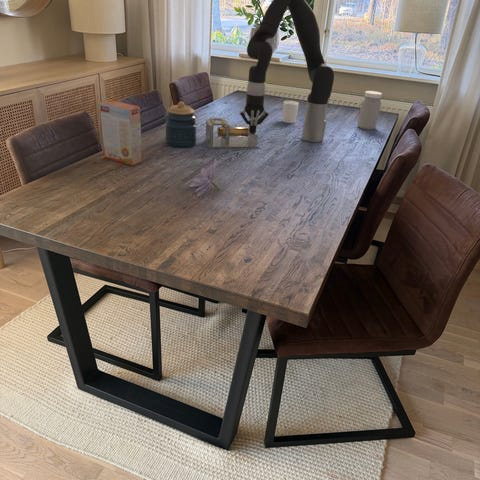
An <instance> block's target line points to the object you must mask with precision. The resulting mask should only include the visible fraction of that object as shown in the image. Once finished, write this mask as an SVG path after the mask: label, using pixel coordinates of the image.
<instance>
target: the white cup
mask: <svg viewBox="0 0 480 480" xmlns="http://www.w3.org/2000/svg"><path fill="white" fill-rule="evenodd" d="M282 105H283V107H282V122H283V123H285V124H295V123H296V120H297V115H298V110H299V105H300V103H299V102H298V101H297V100H296V101H295V100H284V101H283V104H282Z"/></svg>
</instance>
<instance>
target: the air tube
mask: <svg viewBox="0 0 480 480" xmlns="http://www.w3.org/2000/svg"><path fill="white" fill-rule="evenodd" d="M216 129H217V131H216V133H217V134H216V135H217V137H218V138H221V137H225V127H222V126H217V128H216ZM248 134H249V127H248V126H230V135H229V138H230V137H231V138H232V137H233V138H234V137H235V138H236V137H237V138H238V137H240V138H241V137H245V138H246V137H247V138H248Z"/></svg>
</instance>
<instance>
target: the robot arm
mask: <svg viewBox="0 0 480 480" xmlns="http://www.w3.org/2000/svg"><path fill="white" fill-rule="evenodd" d="M287 9H288V11H289V13H290V17H291V20H292V23H293V26H294V29H295V33H296V36H297V39H298V42H299V45H300V48H301V50H302V52H303V55H304V58H305V63H306V67H307V72H308V78H309V80H310V82H311V83H312V84H311V85H312V86H311V90H310V93H309V94H308V95H307V100H306V107H305V114H304V122H303V128H302V134H301V139H302V140H303V141H305V142H308V143H309V142H310V143H320V142H323V141H324V137H325V130H326V126H327V120H326V114H327V108H328V105H329V104H328V103H329V100H330V98H331V96H332V91H333V86H334V80H335V73H334V70H333V68H332V67H330V66H329V65H327V64H326V61H325V59H324V56H323V54H322V51H321V34H320V28H319V24H318V21H317V18H316V14H315V12H314V10H313V9H312V7H311V6H310V5H309V3H308V2H307V1H306V0H272V1H271V2H270V4H269V5H268V7H267V9H266V11H265V12H264V15H263V17H262V19H261V22H260V25H259V27H258V28H257V30H256V31H255V33H254V34H253V36H252V37H251V38H250V40H249V41H248V43H247V47H246V54H247V56H248V57H249V58H250V59H252V60H257V63H256V65H251V66H250V67H249V70H248V81H247V87H246V99H245V106H244V109H242V110H241V111H239V115H240V116H241V118H242V119H243V121H244V122H245V124H246V125H249V127H248V129H249V132H250V133H251V134H257V133H256V132H257V126H258V125H261V124H262V123H263V122H264V121H265V119H266V118H267V117H268V116H269V115H270V114H269V112H267V111H266V110H265V107H264V104H265V96H266V78H267V71H268V68H269V65H270V63H271V60H272V57H273V47H272V45H271V43H270V42H268V41H267V40H271V39H273V38H274V37H275V36H276V34H277V32H278V30H279V27H280V25H281V22H282V20H283V18H284V15H285V13H286V11H287ZM246 114H247V116H248V118H247V116H246Z"/></svg>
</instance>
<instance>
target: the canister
mask: <svg viewBox="0 0 480 480" xmlns="http://www.w3.org/2000/svg"><path fill="white" fill-rule="evenodd" d="M166 109H167V110H166V111H167V113H165V115H164V117H165V118H166V120H165V143H166V145H168V146H169V147H172V148H179V149H186V148H188V149H189V148H193V147H194V146H195V145H196V142H197V123H196V119H197V114H195V112H196V110H195V109H194V108H192V106H189V105H186V104H185V102H183V101H181V100H180V101H178V103H177V104H174V105H171V106H169V107H168V108H166Z"/></svg>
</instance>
